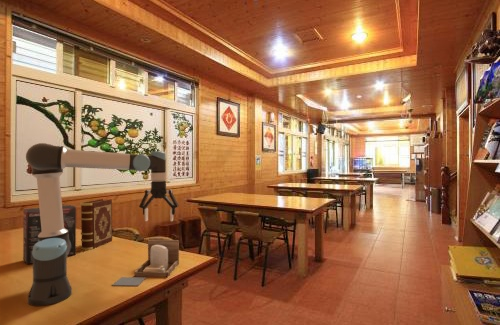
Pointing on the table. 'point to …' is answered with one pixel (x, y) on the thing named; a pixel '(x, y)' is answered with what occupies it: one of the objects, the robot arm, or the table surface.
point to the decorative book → (96, 223)
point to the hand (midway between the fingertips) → (159, 220)
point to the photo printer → (159, 256)
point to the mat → (129, 281)
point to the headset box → (34, 229)
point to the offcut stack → (154, 268)
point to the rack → (172, 258)
